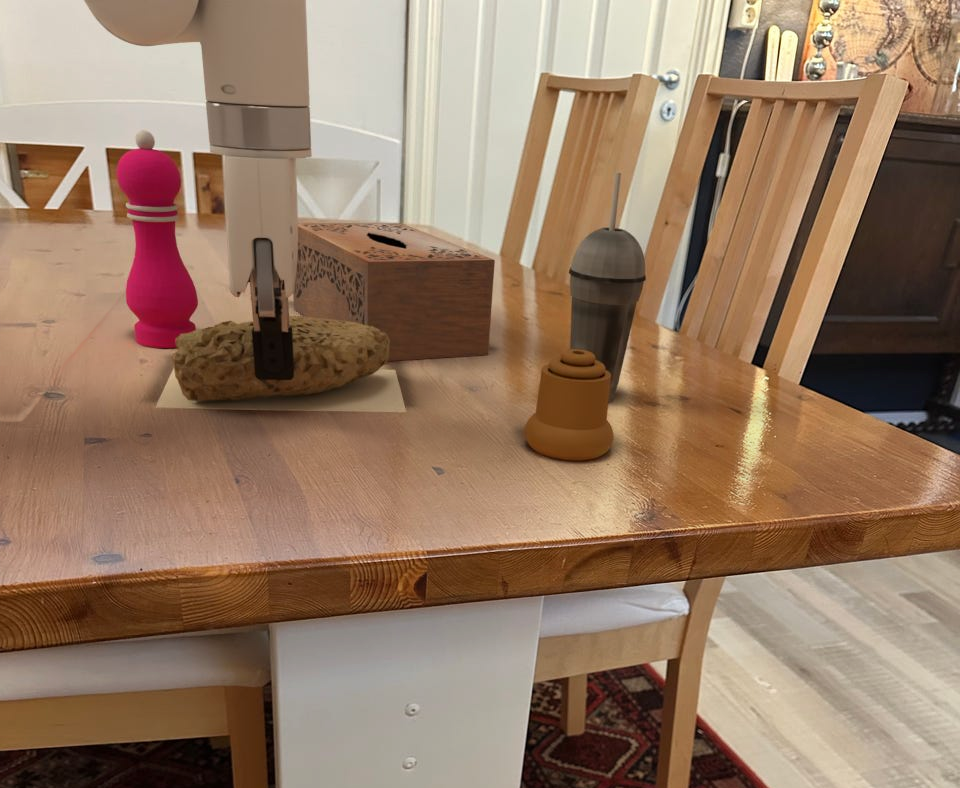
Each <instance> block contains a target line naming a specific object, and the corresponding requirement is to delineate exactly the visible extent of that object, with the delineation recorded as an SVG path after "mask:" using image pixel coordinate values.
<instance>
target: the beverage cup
mask: <svg viewBox="0 0 960 788" xmlns="http://www.w3.org/2000/svg"><path fill="white" fill-rule="evenodd" d="M621 176H622V173H621V172H615V174H614V181H613V191H612V201H611V207H610V209H611V210H610V216H609V217H610V218H609V226H608V227H601V228H598V229H595V230H594V231H592V232H590V233H588V235H587V236H585V237H584V238H583V239H582V241H581V242H580V243H579V244H578V246H577V248H576V250H575V252H574V254H573V257H572V261H571V266H570V267H569V271H568V274H569V275H570V276H569V290H570V296H571V306H570V307H571V308H570V309H571V310H570V340H569V341H570V342H569V344H570V345H569V349H579V350H585V351H589V352H591V353H593V354H594V355H595V358H596V359H595V360H597V361H599V362H601V363H603V364H604V366H605V370H607V371H608V372H610V374H611V381H610V391H609V402H608V403H612V402H613V401H614V400H615V395H616V394H615V393H617V392H616V391H617V388H618V385H619V383H620V378H621V373H622V370H623V364H624V360H625V356H626V352H627V347H628V344H629V343H628V342H629V338H630V334H631V329H632V325H633V322H634V317H635V312H636V309H637V303H638V302H639V301H640V298H641V295H642V293H643V288H644V284H645V281H647V277H646V276H647V275H646V260H645V255H644V251H643V249H642V246H641V244H640V243H639V241H638V240H637V238H636V237H635V236H634V235H632V233H631V232H628V231H627V230H625V229H622V228H617V227H616V224H617V223H616V222H617V213H618V203H619V195H620V186H621Z"/></svg>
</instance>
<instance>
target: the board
mask: <svg viewBox="0 0 960 788" xmlns="http://www.w3.org/2000/svg"><path fill="white" fill-rule="evenodd" d="M405 405H406V404H405V401H404V398H403V393H402V390H401V385H400V383H399V378H398V375H397V371H396V369H382V368H380V369H379V370H378V371H376V372H375V373H373V374H370V375H369V376H367V377H364V378H361V379H357V380H355V381H352V382H350V383H348V384H346V385H343V386H342V387H339V388H337V389H331V390H328V391H323V392H319V393H315V394H307V395H289V396H276V395H273V396H270V397H263V398H259V397H255V398H248V399H243V400H232V399H230V400H227V401H224V400H211V401H192V400H188V399H187V398H186V397H185V396H184V395H183V394H182V391H181V388H180V385H179V383H178V380H177V378H176V377H175V370H174V368H173V369H172V371H171V372H170V374H169V376H168V379H167V381H166V383H165V386H164V388H163V390H162V392H161V394H160V396H159V398H158V400H157V403H156V405H155V406H154V408H155V409H180V410H181V409H185V410H186V409H190V410H191V409H192V410H197V409H198V410H237V411H238V410H240V411H241V410H245V411H246V410H247V411H248V410H249V411H294V412H296V411H298V412H299V411H300V412H349V413H350V412H352V413H353V412H355V413H356V412H357V413H402V414H403V413H405V414H406V413H407V409H406V406H405Z"/></svg>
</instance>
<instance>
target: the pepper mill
mask: <svg viewBox="0 0 960 788" xmlns="http://www.w3.org/2000/svg"><path fill="white" fill-rule="evenodd" d="M134 141H135V144H136V146H137V147H138V148H134V149H131V150H129V151H126V152H125V153H124V154H123V155H122V156H121V157H120V159H119V161H118V163H117V167H116V180H117V183H118V187H119V189H120V190H121V192H122V193H123V194H124V195H125V196H126V197H127V199H128V202H126V203H125V207H126V209H127V214H126V217H127V218H128V219H130V220H131V222H132V227H133V231H134V240H135V241H134V242H135V246H134V247H135V249H134V257H133V261H132V265H131V268H130V270H129V273H128V275H127V276H128V277H127V279H126V286H125V303H126V305H127V307H128V309H129V310H130V311H131V313H133V315H134V316H135V317H136V318H137V319H138V321H137V322H135V324H134V325H133V327H134V336H135V342H136V343H137V344H139V345H141V346H144V347H147V348H148V347H149V348H155V349H178V348H177V346H176V343H175V341H176V338H177V337H179V336H180V334H182V333H189V332H192V331H195V330H197V327H196V323H194V322H193V321H192V320H190V319H191V317H192V316H193V314H194V313H195V312H196V311H197V308H198V306H199V299H198V293H197V289H196V286H195V284H194V281H193V279H192V277H191V275H190V273H189V271H188V269H187V267H186V265H185V264H184V262H183V259H182V257H181V254H180V251H179V248H178V243H177V236H176V221H178V220H179V219H180V215H179V214H178V213H179V212H178V210H179V205H178V204H176V203H175V200H176V198H177V196H178V194H179V193H180V191H181V189H182V188H181V187H182V179H181V173H180V171H179V168H178V166H177V164H176V163H175V161H174V160H173V159H172V158H171V157H170V156H169V155H168V154H166V153H164V152H163V151H160V150H158V149H155V148H154V147H155V144H156V143H155V142H156V141H155V137H154V135H153V134H152V133H151V132H150V131H148V130H144V129H142V130H139V131H137V133H136V134H135V140H134Z"/></svg>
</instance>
